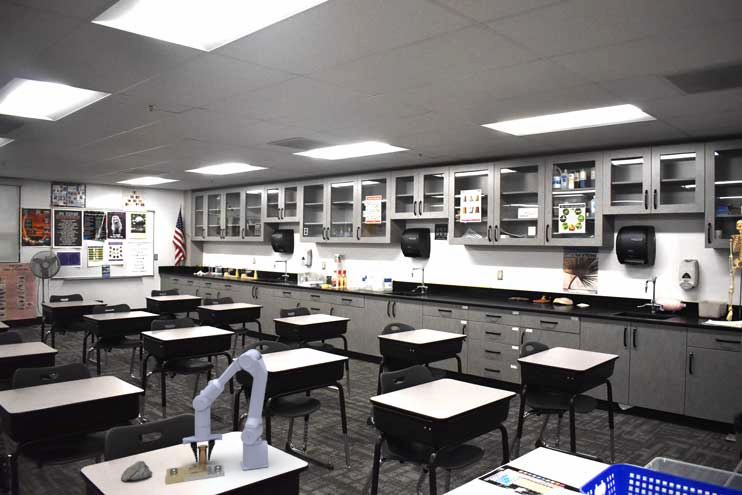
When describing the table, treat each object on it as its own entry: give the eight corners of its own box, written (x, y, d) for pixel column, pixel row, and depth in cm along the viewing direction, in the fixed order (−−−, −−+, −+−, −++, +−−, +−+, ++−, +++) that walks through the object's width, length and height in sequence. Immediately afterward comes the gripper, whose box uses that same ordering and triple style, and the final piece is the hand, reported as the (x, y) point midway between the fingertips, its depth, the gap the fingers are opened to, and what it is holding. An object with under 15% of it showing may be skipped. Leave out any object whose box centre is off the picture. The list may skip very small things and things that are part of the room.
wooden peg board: (222, 467, 203) (222, 458, 203) (224, 475, 195) (224, 466, 195) (166, 475, 196) (166, 466, 196) (166, 484, 188) (166, 474, 188)
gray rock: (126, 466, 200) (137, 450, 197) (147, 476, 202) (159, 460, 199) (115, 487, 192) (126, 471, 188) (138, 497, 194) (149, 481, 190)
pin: (207, 462, 208) (207, 444, 208) (208, 465, 205) (208, 447, 205) (197, 463, 207) (197, 445, 207) (197, 467, 203) (197, 448, 204)
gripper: (221, 420, 212) (221, 454, 212) (182, 424, 207) (182, 459, 207) (222, 425, 206) (222, 460, 205) (183, 429, 201) (183, 465, 201)
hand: (202, 460), depth 206 cm, fingers open, 4 cm apart
